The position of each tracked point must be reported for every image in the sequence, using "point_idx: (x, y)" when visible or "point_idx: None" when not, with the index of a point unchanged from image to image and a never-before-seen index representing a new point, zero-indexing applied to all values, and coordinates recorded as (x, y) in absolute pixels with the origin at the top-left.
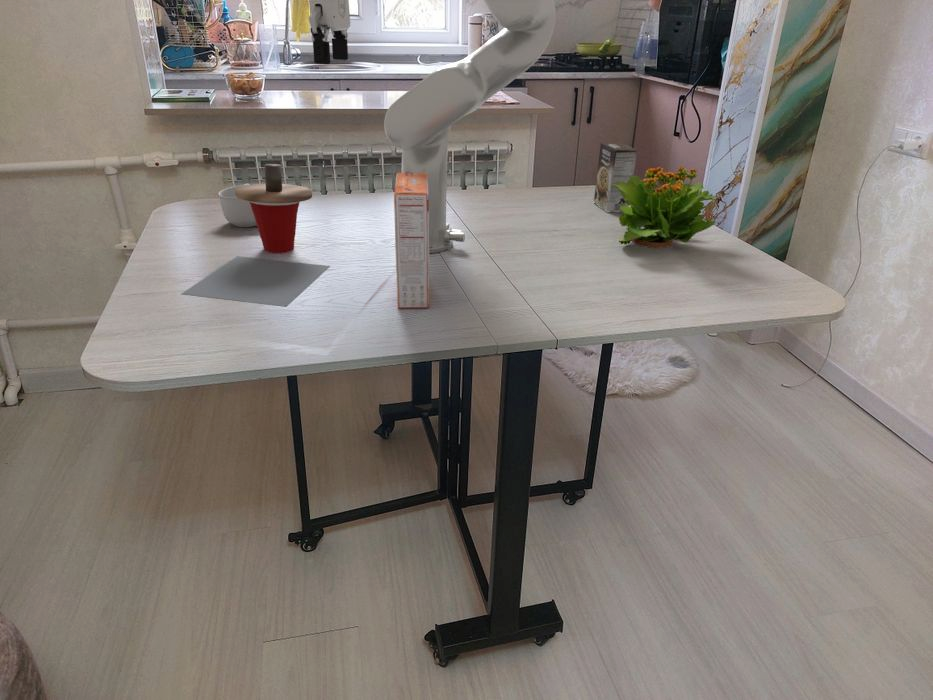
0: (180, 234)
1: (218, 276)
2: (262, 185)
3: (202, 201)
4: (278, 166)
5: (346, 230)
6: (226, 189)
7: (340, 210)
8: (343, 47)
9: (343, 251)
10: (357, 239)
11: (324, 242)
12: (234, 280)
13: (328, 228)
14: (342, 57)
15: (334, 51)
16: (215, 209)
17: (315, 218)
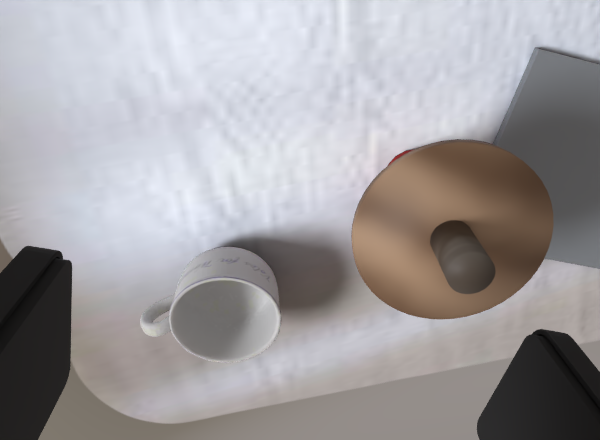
0: (311, 358)
1: (555, 243)
2: (388, 276)
3: (99, 386)
4: (488, 257)
5: (254, 50)
6: (205, 356)
7: (79, 93)
8: (9, 373)
9: (416, 34)
10: (326, 9)
11: (350, 92)
12: (580, 214)
13: (243, 100)
14: (62, 305)
15: (41, 421)
16: (148, 352)
17: (167, 146)
